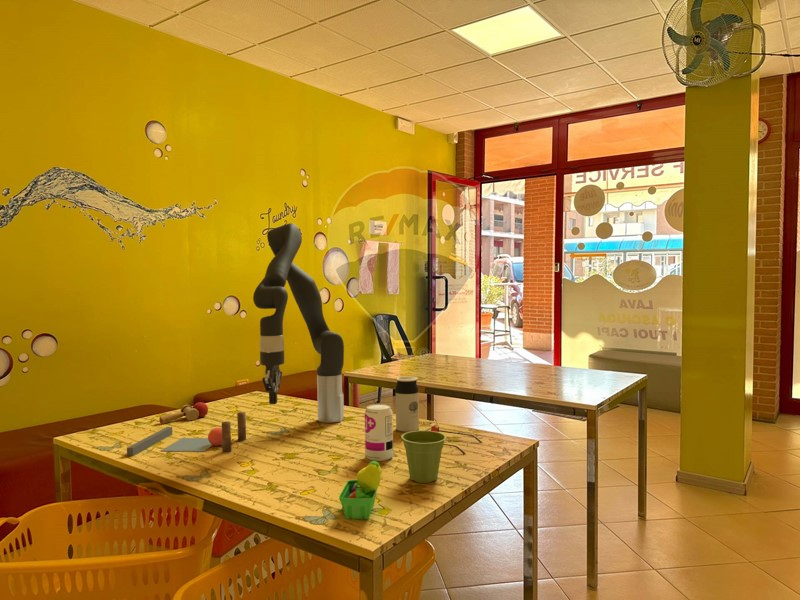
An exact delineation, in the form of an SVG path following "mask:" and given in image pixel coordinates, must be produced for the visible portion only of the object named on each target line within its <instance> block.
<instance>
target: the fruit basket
mask: <svg viewBox="0 0 800 600" xmlns="http://www.w3.org/2000/svg"><path fill="white" fill-rule="evenodd" d="M381 475H382V468H381V466H380V463H379V461H372V460H371V461H370V462H369V463H368V464H367V466H366V467H363V468H362V469H360V470H359V471H358V472H357V474H356V479H349V480H347V481H346V483H345V485H344V487H343V488H342V490H341V493H339V496H338V500H339V502H340V504H341V508H342V509H343V515H344V517H345V519H346V520H347V519H348V520H349V519H353V520H359V519H360V520H363V519H365V520H369V519H370V515H371V513H372V510H373V507H374V504H375V500H376V496H377V492H378V488H379V486H380V484H381Z"/></svg>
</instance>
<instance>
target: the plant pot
mask: <svg viewBox="0 0 800 600" xmlns="http://www.w3.org/2000/svg"><path fill="white" fill-rule="evenodd" d="M425 430H426V429H425ZM425 430H424V429H423V430H416V431H411V432H403V433H402V434H401V435H400V438H401V440H402V441H403V446H404V449H405V454H406V455H405V457H406V460H407V466H408V473H409V474H408V475H409V479H410V480H411V481H415V482H416V483H418V484H419V483H420V484H421V483H422V484H424V483H425V484H427V483H432V482H433V481H437V480H438V475H439V469H440V463H441V457H442V453H443V452H442V450H443V448H444V445H443V444H445V440H446V439H447V436H446V434H445V433H443V432H436V431H431V430H428V431H425Z"/></svg>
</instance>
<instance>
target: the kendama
mask: <svg viewBox="0 0 800 600" xmlns="http://www.w3.org/2000/svg"><path fill="white" fill-rule="evenodd" d="M208 412H209V406H208V404H206V403H205V402H201V401H199V402H196V403H195V404H193V406H192V405H189V404H185V405H183V406H182V407H181V408H180V412H176V413H171V414H168V415H163V416H160V417H159V423H160V424H161V425H164V424H167V423H170V422H173V421H175V420H178V419H181V418H182V417H185V419H186V420H187V421H189V422H191V421H190V420H192V421H195V420H194V419H196V420H197V419H199V418H198V417H202V418H204V417H206V416H207V414H208Z"/></svg>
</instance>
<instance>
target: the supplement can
mask: <svg viewBox="0 0 800 600" xmlns="http://www.w3.org/2000/svg"><path fill="white" fill-rule="evenodd" d="M391 408H392V407H391V406H390V405H389V404H382V403H380V404H379V403H375V404H370V405H367V406H366V408H365V410H364V440H365V442H364V448H365V457H366V458H367V459H368V460H370V461H371V462H372V461H376V462H385V461H388V460H390V459H391V458H393V456H394V420H393V419H394V417H393V415H394V413H393V410H392V409H391Z"/></svg>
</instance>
